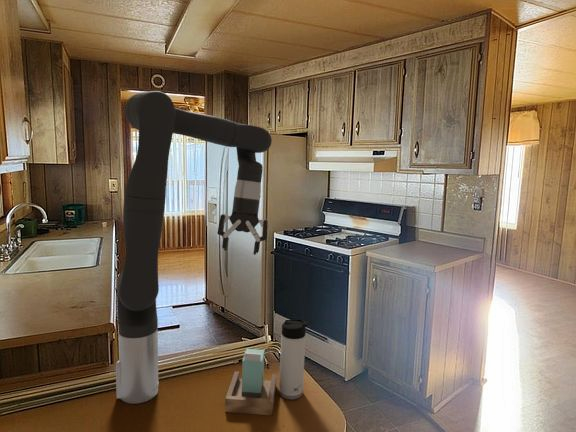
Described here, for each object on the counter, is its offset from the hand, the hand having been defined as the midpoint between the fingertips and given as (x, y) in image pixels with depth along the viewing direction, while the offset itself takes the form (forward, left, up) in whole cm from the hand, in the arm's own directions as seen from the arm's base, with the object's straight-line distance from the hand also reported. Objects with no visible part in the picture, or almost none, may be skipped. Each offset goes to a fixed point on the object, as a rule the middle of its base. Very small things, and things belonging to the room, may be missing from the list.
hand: (240, 252), depth 116 cm
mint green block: (+7, -18, -32) cm, 37 cm away
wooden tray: (+7, -18, -34) cm, 39 cm away
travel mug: (+17, -15, -34) cm, 41 cm away
